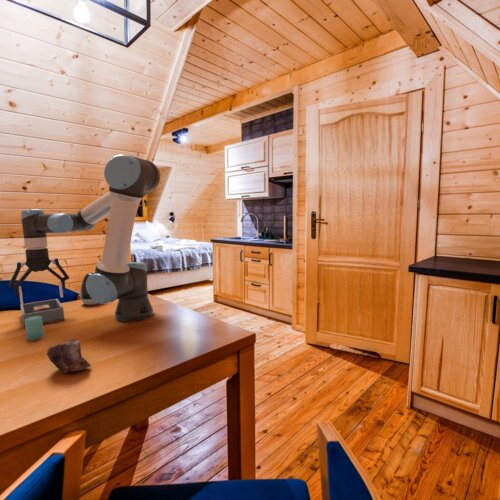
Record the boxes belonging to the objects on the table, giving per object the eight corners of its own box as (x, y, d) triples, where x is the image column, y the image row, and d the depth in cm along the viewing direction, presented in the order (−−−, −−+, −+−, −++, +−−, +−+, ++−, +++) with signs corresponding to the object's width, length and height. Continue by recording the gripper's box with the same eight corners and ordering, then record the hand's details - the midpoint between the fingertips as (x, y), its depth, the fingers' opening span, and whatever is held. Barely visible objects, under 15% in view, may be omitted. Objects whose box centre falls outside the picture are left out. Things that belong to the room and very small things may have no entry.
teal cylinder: (46, 334, 114) (44, 315, 113) (39, 339, 109) (37, 320, 108) (31, 335, 113) (29, 316, 112) (23, 340, 108) (21, 321, 107)
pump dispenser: (109, 302, 153) (107, 271, 151) (88, 308, 144) (86, 275, 142) (96, 299, 158) (94, 269, 156) (76, 304, 149) (73, 273, 147)
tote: (64, 319, 129) (63, 307, 128) (23, 327, 120) (22, 315, 120) (58, 309, 142) (57, 298, 142) (21, 315, 134) (20, 304, 133)
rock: (86, 361, 96) (47, 370, 90) (84, 333, 96) (45, 340, 90) (92, 371, 86) (49, 382, 80) (90, 339, 86) (47, 348, 80)
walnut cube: (48, 316, 132) (47, 304, 131) (51, 318, 128) (49, 307, 127) (34, 318, 128) (33, 307, 128) (36, 321, 125) (35, 309, 124)
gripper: (70, 244, 135) (75, 292, 137) (-4, 250, 120) (3, 304, 122) (73, 246, 129) (78, 296, 132) (-4, 252, 114) (3, 308, 116)
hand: (42, 300), depth 127 cm, fingers open, 13 cm apart
